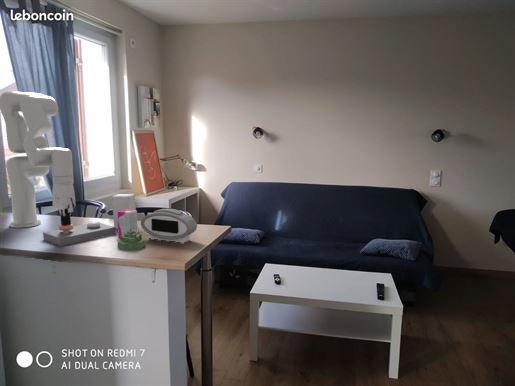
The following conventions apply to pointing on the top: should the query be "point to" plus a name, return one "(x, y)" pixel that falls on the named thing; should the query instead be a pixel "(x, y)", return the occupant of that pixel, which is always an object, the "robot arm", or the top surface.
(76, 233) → the button panel
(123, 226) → the supplement box
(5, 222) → the top surface
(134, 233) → the decorative artifact
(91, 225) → the grey button
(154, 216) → the alarm clock
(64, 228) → the terracotta button
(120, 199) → the skincare box
